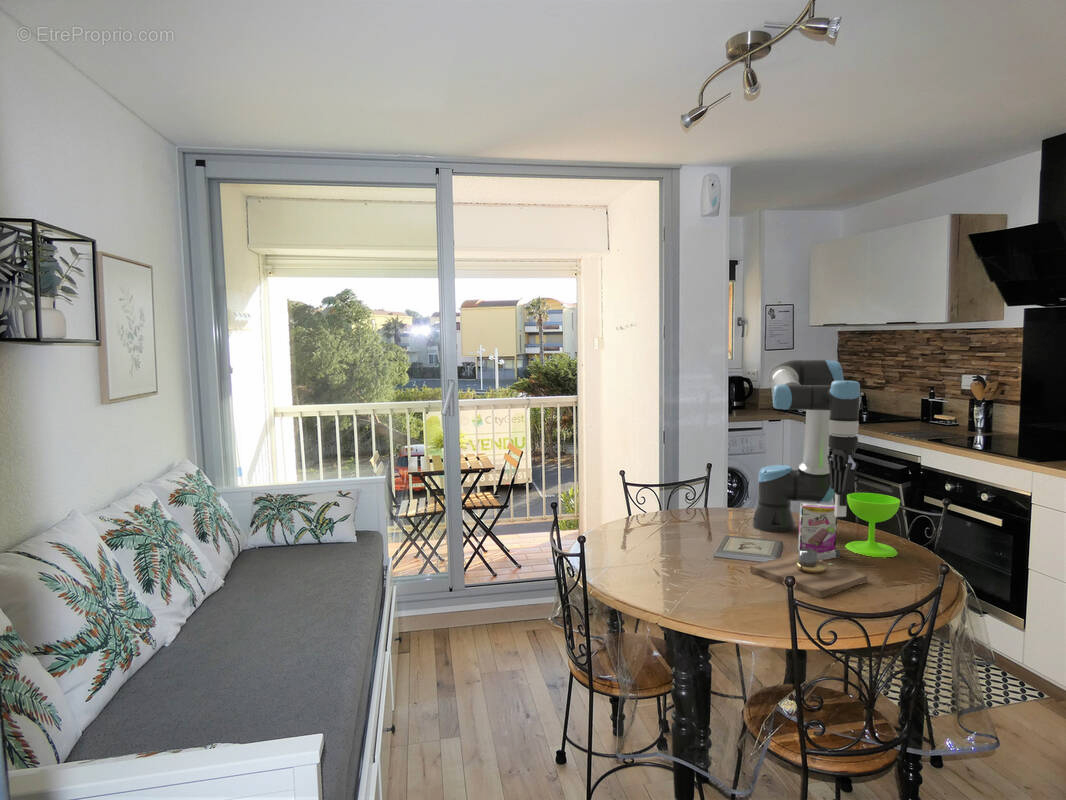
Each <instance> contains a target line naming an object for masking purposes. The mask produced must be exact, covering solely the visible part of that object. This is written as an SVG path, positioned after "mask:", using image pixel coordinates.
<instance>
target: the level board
mask: <svg viewBox="0 0 1066 800" xmlns="http://www.w3.org/2000/svg"><path fill="white" fill-rule="evenodd" d="M797 561H799V553H797V552H796V553H792V554H788V555H783V556H781V557H777V558H774V559H771V560H766V561H762V562H759V563H755V564H752V565H750V567H749V568H750V569H749V571H750V573H752V574H754V575H757V576H760V577H763V578H764V579H768V580H771V581H773V582H776V583H779V584H782V585H784V584H783V582H784V578H785V577H786V576H794V577H795V578H796V586H795V588H794V589H795V590H797V591H798V590H799V591H800V590H801V591H800V592H803V591H804V592H803V593H806V594H808V593H809V595H811V594H812V595H811V596H814V595H815V597H817V598H819V597H820V598H819V599H822V598H825V597H828V596H830V594H831V595H833V594H832V593H834V594H836V593H835V592H837V593H839V592H838V591H840V592H842V591H841V590H843V589H846V588H849V587H852V586H854V587H856V586H855V585H857V586H859V585H858V584H860V583H863V584H865V583H864V582H866V583H867V582H868V575H866V574H863V573H860V572H856V571H853V570H850V569H847V568H844V567H841V566H838V565H835V563H830V562H829V563H828V562H824V561H823V560H820V561H819V562H822V563H824V564H825V565H826V571H825V572H823V573H809V572H804V571H801V570H799V569H798V568H797ZM860 585H861V584H860ZM852 588H853V587H852ZM849 589H850V588H849ZM846 590H847V589H846ZM843 591H844V590H843ZM827 595H828V596H827ZM824 596H825V597H824ZM821 597H822V598H821Z"/></svg>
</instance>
